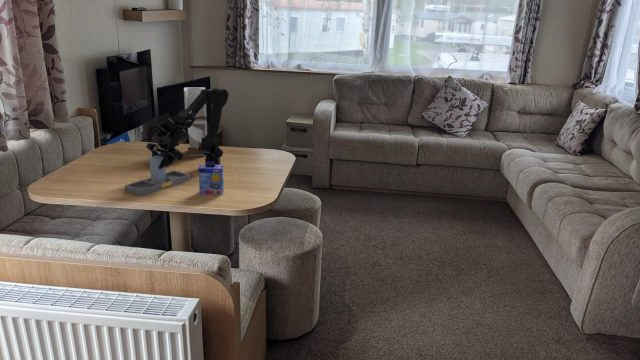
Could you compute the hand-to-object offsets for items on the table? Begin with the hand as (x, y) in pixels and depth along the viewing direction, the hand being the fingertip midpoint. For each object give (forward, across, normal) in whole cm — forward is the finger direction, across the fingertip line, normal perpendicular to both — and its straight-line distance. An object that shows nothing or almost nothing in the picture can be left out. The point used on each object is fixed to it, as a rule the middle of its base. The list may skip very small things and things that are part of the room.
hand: (155, 167), depth 215 cm
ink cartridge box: (0, +25, +12) cm, 28 cm away
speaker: (-11, -22, +23) cm, 34 cm away
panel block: (+4, 0, +6) cm, 7 cm away
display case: (-28, -24, +41) cm, 55 cm away
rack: (+5, 0, +7) cm, 9 cm away
